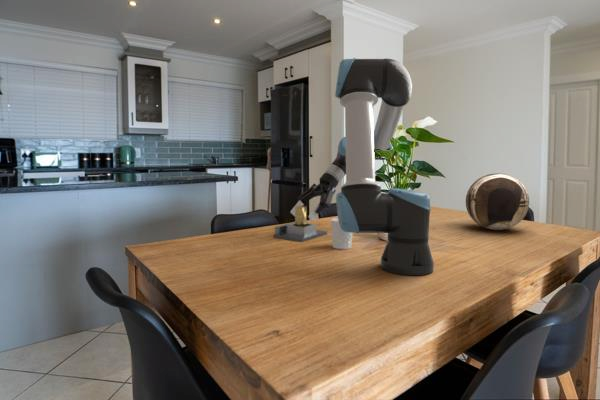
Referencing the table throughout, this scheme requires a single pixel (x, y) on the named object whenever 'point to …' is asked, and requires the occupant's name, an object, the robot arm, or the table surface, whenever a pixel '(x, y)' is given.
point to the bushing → (301, 216)
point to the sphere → (497, 201)
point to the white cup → (340, 236)
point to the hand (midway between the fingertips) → (301, 216)
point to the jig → (297, 232)
